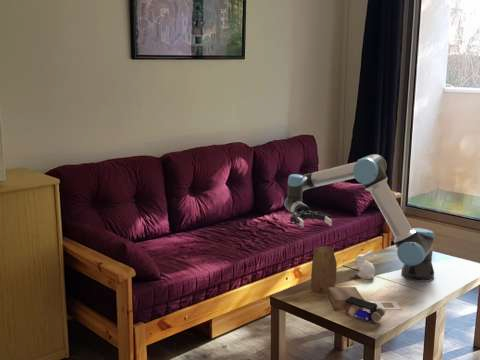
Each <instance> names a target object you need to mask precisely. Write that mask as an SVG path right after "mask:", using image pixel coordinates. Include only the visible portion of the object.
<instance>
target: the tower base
mask: <svg viewBox="0 0 480 360" xmlns="http://www.w3.org/2000/svg"><path fill="white" fill-rule="evenodd" d="M351 296H352V297H355V298H359V299H362V300H364V298H363V296H362V295H361V293H360V292H359V290H358V289H357V287H355V286H340V287H339V286H338V287H337V286H334V287H328V293H327V300H328V302H329V304H330V305H331V307H332V309H333V311H334V312H346V311H345V309H346V307H347V305H349V304H350V303H347V302H345V300H347V299H348V298H349V297H351ZM357 308H358V309H361V310H364V308H362V307H359V306H357Z"/></svg>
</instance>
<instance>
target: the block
mask: <svg viewBox="0 0 480 360" xmlns="http://www.w3.org/2000/svg"><path fill="white" fill-rule="evenodd" d="M337 265H338V264H337V258H336V256H335V249H334V248H333V247H331V246H326V245H323V246H319V247H317V248H315V249H314V250H313V257H312V262H311V274H310V275H311V277H310V283H311V284H310V289H311V290H312V291H314V292H315V293H316V294H328V287H335V285H336V282H337V272H338V271H337V267H338V266H337Z"/></svg>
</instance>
